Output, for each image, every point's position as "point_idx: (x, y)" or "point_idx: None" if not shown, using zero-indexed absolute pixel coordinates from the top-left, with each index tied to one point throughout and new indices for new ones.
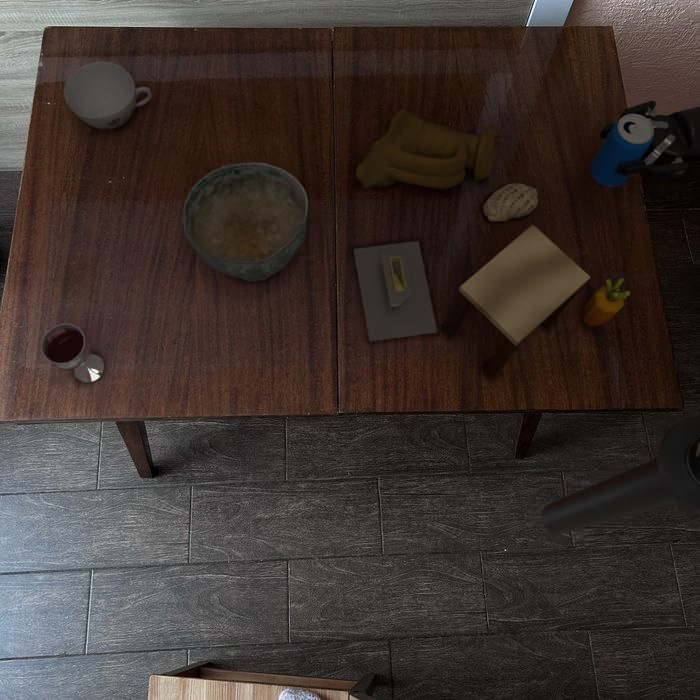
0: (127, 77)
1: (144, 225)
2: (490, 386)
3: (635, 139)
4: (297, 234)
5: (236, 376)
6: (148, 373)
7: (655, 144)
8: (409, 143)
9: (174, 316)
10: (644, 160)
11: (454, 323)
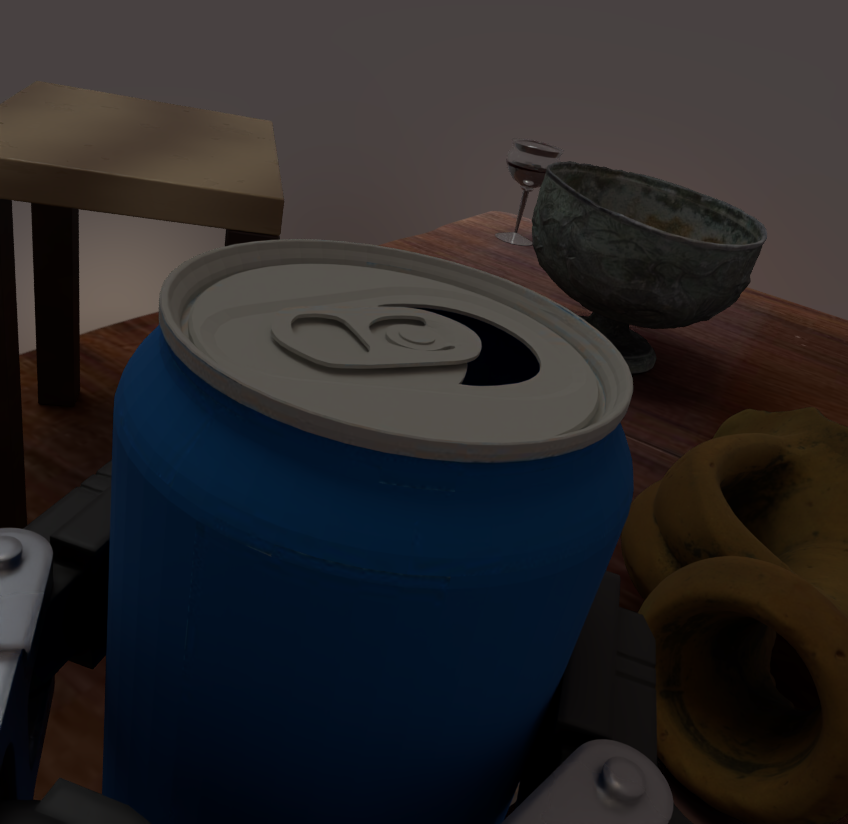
0: None
1: (707, 323)
2: (35, 380)
3: (292, 284)
4: (577, 192)
5: None
6: (473, 249)
7: (56, 818)
8: (815, 504)
9: (540, 282)
10: (48, 546)
11: None
